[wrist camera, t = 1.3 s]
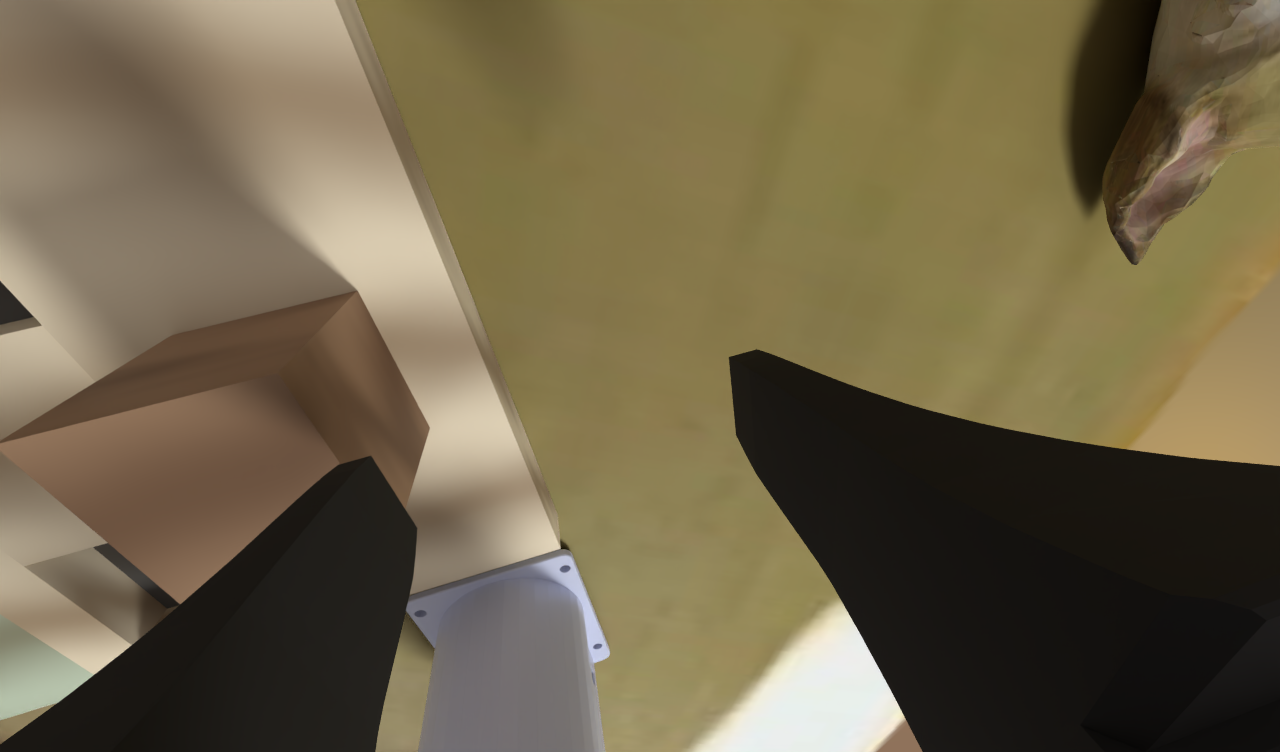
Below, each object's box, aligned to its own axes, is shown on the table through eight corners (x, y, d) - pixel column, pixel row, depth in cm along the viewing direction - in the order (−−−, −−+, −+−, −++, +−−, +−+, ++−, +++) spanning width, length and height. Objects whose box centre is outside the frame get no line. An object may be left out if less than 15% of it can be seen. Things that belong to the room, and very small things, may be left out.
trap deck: (557, 514, 21) (564, 589, 18) (-60, 698, 19) (-187, 825, 16) (335, -49, 11) (254, -123, 8) (-1069, 190, 9) (-2089, 236, 5)
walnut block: (429, 428, 16) (395, 543, 11) (277, 469, 15) (182, 606, 11) (357, 290, 13) (277, 372, 9) (171, 335, 13) (-7, 445, 8)
